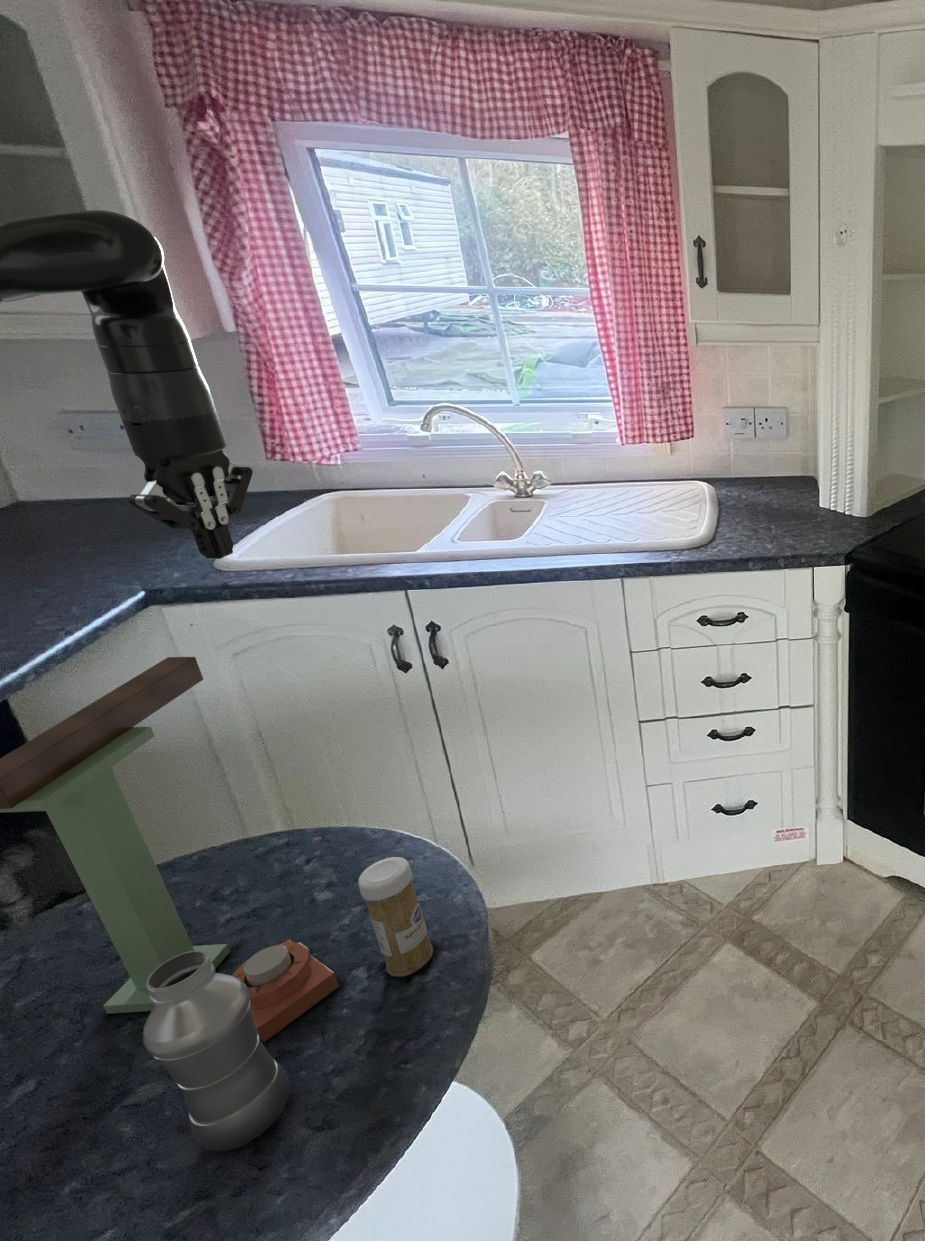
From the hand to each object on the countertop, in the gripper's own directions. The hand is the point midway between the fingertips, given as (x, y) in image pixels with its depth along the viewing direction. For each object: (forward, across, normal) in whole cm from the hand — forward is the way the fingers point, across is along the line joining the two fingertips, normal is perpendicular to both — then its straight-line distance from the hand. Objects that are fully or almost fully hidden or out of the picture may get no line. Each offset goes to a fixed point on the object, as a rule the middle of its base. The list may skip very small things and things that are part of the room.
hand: (219, 556), depth 87 cm
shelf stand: (+41, +23, +3) cm, 47 cm away
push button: (+37, +24, +16) cm, 47 cm away
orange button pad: (+41, +24, +16) cm, 50 cm away
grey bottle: (+41, +36, +23) cm, 59 cm away
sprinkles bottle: (+41, +19, +27) cm, 53 cm away
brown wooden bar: (+12, +19, +2) cm, 22 cm away
